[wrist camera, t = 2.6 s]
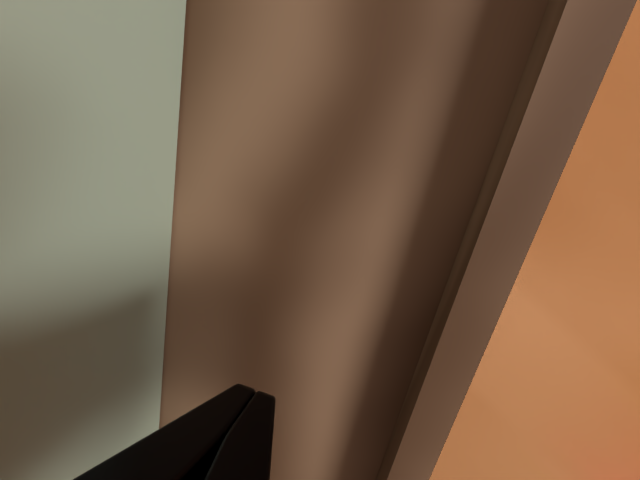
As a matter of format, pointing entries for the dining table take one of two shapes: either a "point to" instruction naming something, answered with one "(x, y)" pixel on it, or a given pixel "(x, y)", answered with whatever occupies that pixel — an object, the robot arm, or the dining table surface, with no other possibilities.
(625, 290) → the dining table surface
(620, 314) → the dining table surface
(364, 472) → the brown shallow tray
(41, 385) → the tailgate
